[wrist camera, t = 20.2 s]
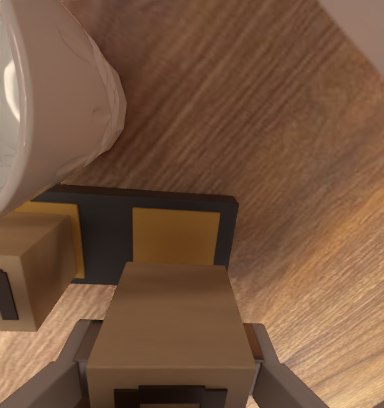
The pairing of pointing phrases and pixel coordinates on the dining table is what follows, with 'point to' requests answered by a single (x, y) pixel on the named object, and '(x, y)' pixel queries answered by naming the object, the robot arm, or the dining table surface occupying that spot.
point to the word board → (139, 228)
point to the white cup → (51, 99)
